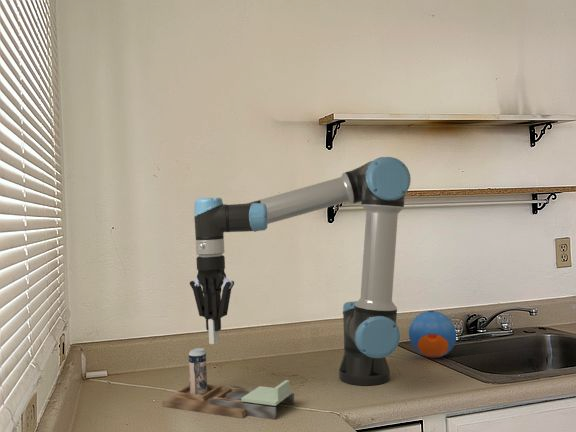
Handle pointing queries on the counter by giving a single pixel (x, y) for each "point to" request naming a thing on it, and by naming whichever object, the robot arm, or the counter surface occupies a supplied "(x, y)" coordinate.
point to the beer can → (197, 371)
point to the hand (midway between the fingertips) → (214, 342)
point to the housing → (222, 402)
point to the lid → (268, 394)
